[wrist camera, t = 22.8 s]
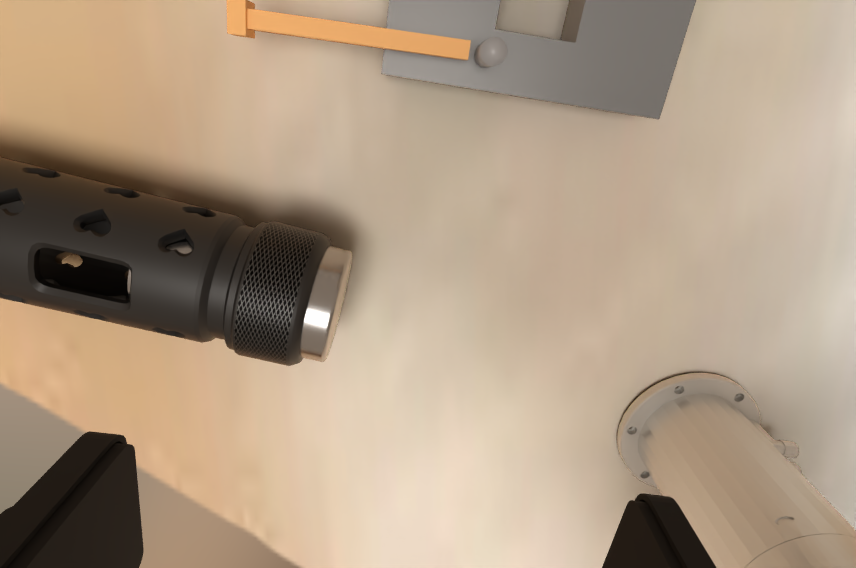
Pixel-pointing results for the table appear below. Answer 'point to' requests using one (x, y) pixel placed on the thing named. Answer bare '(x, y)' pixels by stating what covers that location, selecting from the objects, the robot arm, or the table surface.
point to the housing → (552, 52)
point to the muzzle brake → (168, 265)
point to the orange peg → (339, 32)
